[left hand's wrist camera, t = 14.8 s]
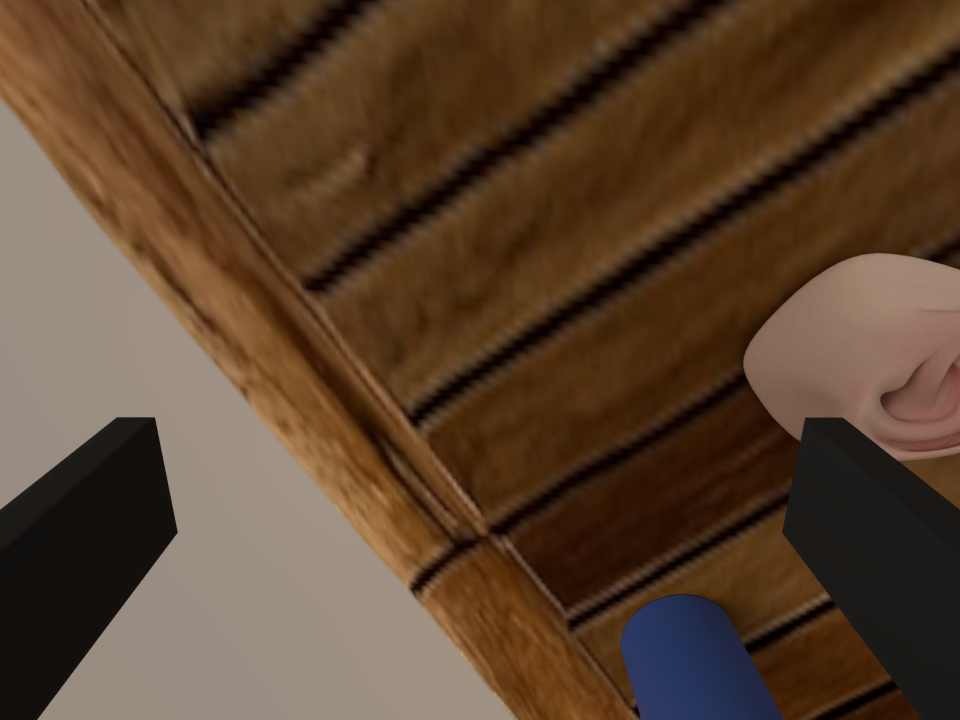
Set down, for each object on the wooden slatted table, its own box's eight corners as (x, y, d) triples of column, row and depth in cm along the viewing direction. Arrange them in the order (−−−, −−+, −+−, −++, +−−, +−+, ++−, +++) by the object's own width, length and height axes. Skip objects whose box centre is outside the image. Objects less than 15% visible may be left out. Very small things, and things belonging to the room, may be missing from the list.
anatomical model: (742, 433, 30) (888, 210, 27) (711, 401, 34) (836, 202, 30) (961, 529, 32) (1122, 334, 29) (909, 489, 36) (1046, 311, 32)
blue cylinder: (668, 700, 41) (739, 900, 30) (597, 640, 39) (646, 829, 28) (754, 639, 39) (862, 826, 29) (685, 574, 38) (771, 747, 27)
